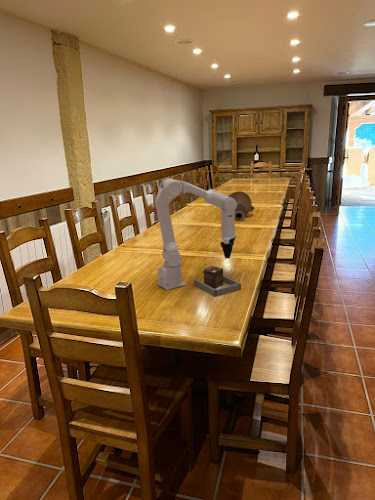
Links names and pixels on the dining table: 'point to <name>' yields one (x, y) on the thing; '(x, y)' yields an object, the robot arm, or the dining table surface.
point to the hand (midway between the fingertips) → (228, 255)
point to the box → (213, 276)
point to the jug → (242, 204)
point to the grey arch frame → (216, 292)
